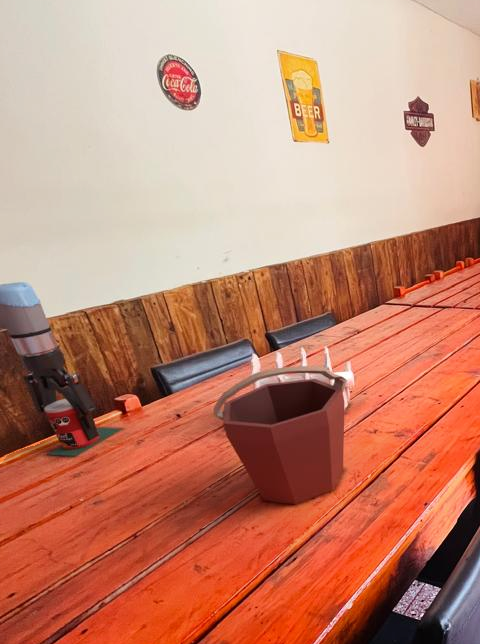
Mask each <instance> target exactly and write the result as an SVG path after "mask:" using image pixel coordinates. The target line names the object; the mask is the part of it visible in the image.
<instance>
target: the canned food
mask: <svg viewBox="0 0 480 644" xmlns="http://www.w3.org/2000/svg"><path fill="white" fill-rule="evenodd" d="M44 410H45V412H46V415H45V416H46V417H47V419H48V421H49V423H50V425H51V427H52V429H53V431H54V434H55V435H56V437H57V440H58V442H59V444H60V445H61V446H62V447H63V448H64V449H67V450H74V449H80V448H83V447H86V446H89V445H91V444H93V443H95V442H96V441H98V440H99V436H98V437H96V438H94V439H92V440H91V441H88V440H87V438H86V435H85V433H84V431H83V429H82V427H81V425H80V422H79V420H78V418H77V416H79V414H78V413H77V412H76V410H75V409H74V408H73V407H72V406H71V404H70V403H69V402H68V401H67V400H66V398H63V399H59V400H56V402H54V403H52V404H49V405H47V406H46V407H45V408H44ZM82 411H83V410H82ZM95 427H96V429H97V428H98V427H97V426H96V425H95ZM97 431H98V430H97Z"/></svg>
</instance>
